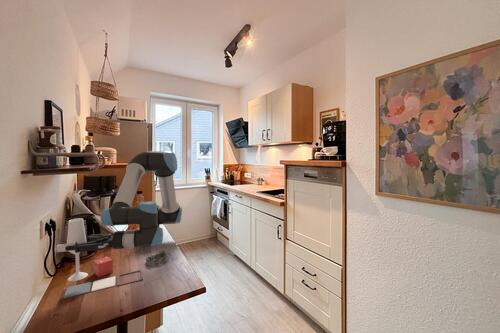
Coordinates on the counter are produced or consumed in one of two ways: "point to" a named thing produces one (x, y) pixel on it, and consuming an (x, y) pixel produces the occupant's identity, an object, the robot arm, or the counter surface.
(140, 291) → the counter surface
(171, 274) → the counter surface
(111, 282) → the game track
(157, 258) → the egg carton
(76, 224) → the champagne flute
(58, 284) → the counter surface
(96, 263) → the red die
